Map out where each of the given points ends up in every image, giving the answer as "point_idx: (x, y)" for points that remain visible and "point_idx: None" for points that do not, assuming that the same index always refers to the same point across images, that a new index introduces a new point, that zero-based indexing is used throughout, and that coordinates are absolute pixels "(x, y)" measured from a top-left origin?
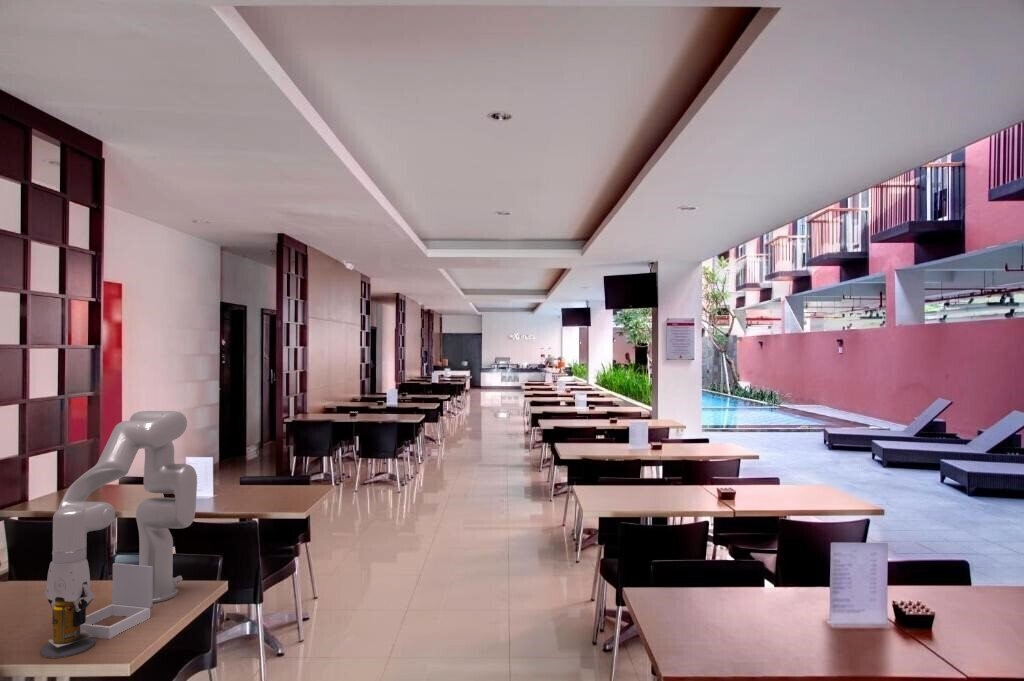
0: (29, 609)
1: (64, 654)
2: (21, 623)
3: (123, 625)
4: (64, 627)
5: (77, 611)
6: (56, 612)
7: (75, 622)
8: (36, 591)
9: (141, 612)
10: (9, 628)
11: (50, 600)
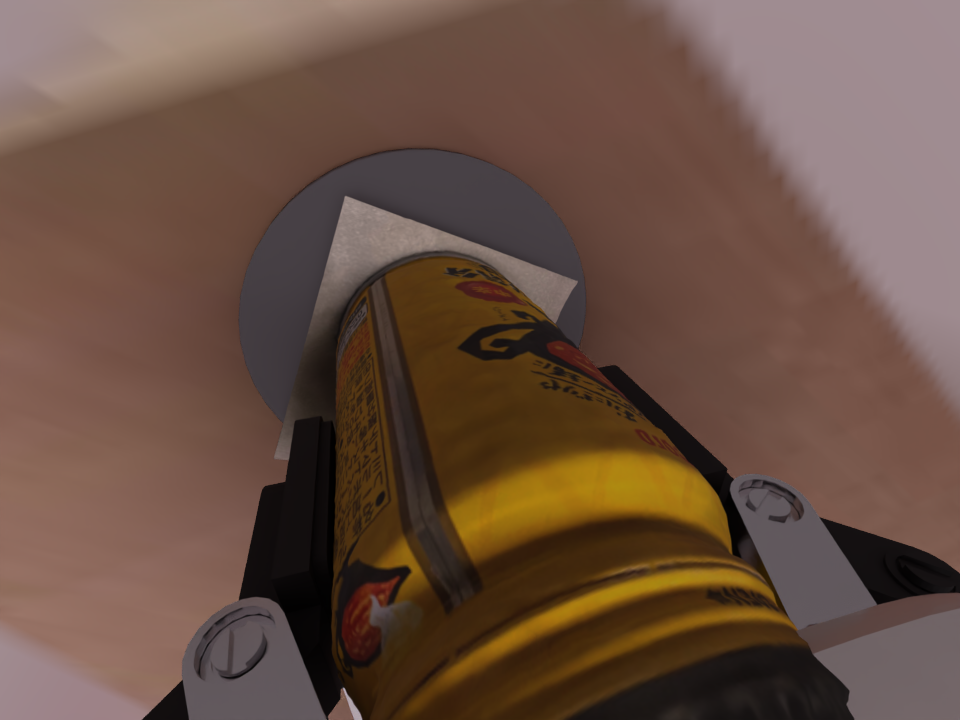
0: (920, 491)
1: (284, 210)
2: (892, 413)
3: None
4: (374, 347)
5: (239, 607)
6: (541, 422)
7: (291, 455)
8: (956, 560)
9: (351, 710)
10: (919, 362)
11: (901, 574)
